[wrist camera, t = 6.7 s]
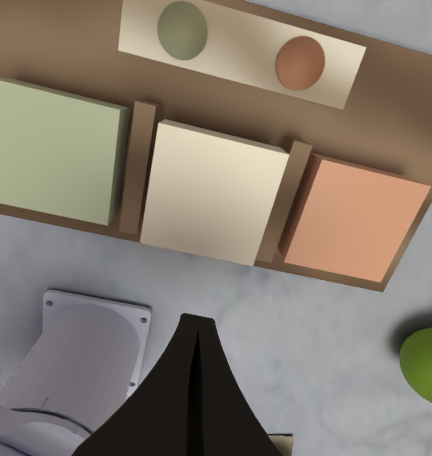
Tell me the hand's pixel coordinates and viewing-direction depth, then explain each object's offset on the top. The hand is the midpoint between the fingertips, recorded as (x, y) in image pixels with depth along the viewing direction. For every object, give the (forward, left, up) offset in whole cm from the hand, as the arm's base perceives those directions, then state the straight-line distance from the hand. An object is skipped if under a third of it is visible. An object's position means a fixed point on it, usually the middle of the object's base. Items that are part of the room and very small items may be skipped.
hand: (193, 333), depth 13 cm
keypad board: (+6, 0, -9) cm, 11 cm away
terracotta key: (+4, -8, -7) cm, 11 cm away
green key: (+4, +8, -7) cm, 12 cm away
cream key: (+4, 0, -6) cm, 8 cm away
